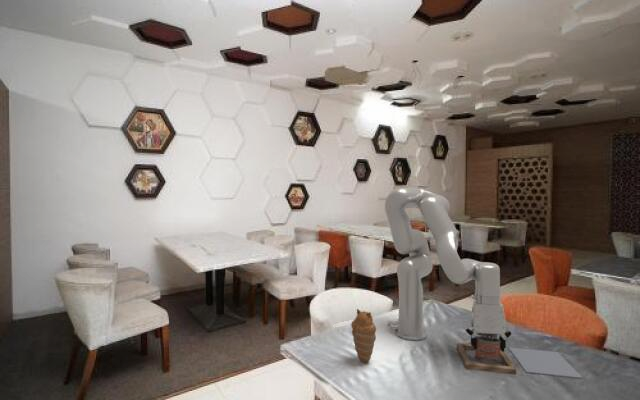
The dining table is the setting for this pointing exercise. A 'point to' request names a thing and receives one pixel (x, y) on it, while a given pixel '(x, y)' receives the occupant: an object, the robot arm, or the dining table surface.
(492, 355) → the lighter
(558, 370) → the pad
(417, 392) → the dining table surface
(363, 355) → the cat ice cream
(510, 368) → the picture frame
